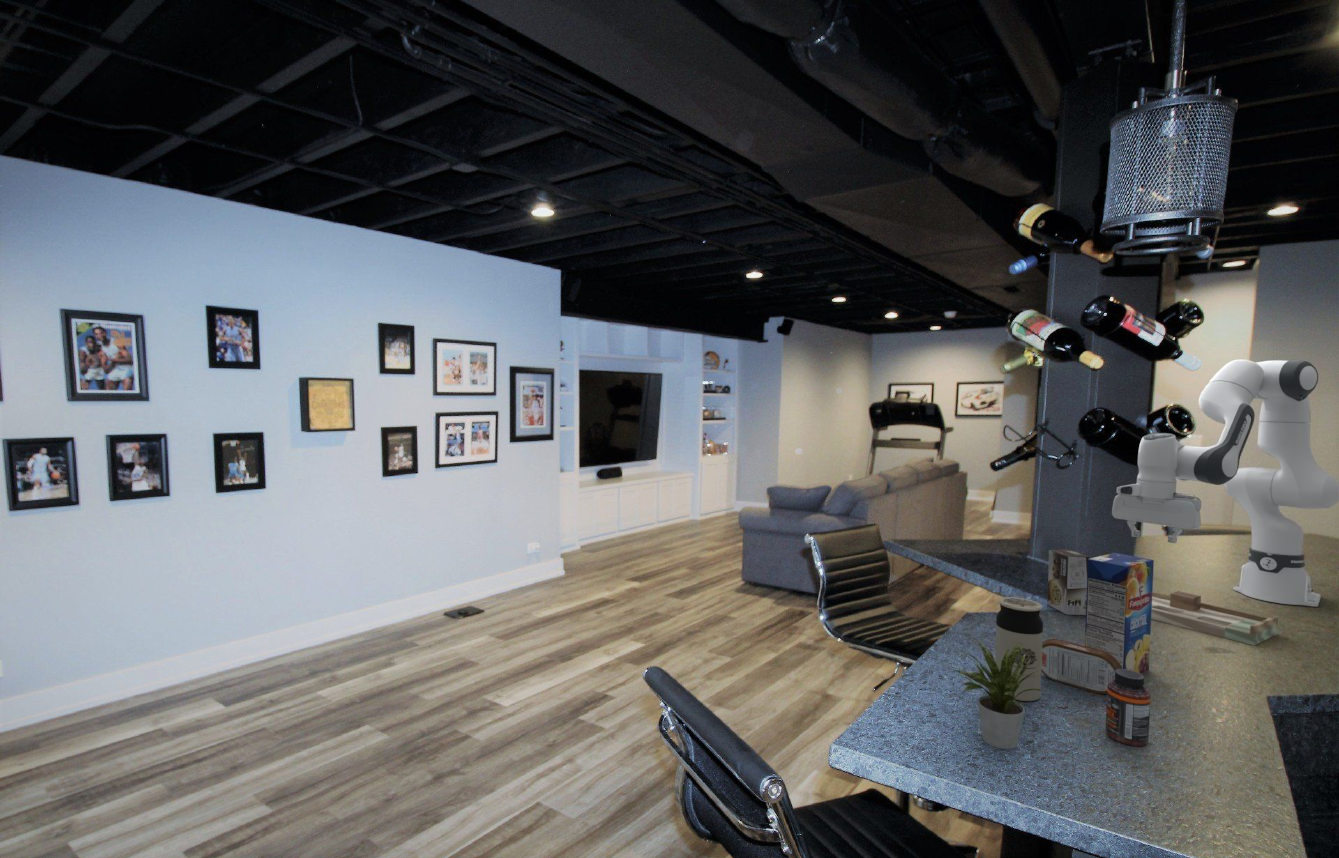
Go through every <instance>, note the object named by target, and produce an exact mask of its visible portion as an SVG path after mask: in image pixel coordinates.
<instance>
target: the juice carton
mask: <svg viewBox="0 0 1339 858" xmlns="http://www.w3.org/2000/svg"><path fill="white" fill-rule="evenodd" d="M1154 563H1155V560H1154V559H1150V558H1145V557H1139V556H1134V555H1130V554H1129V555H1128V554H1123V553H1117V552H1111V553H1108V554H1107V553H1106V554H1103V555H1099V556H1096V557H1095V556H1094V557H1091V558H1090V559H1088V573H1087V598H1086V615H1085V623H1084V624H1085V629H1084V646H1088V647H1091V648H1095V649H1100V650H1103V651H1105V652H1107V653H1109V654H1111V655H1112V656H1113V657H1114V658H1116V659H1117V660H1118V662H1119V663H1120V665H1121V667H1122V669H1128V670H1132V671H1135V672H1138V673H1140V674H1142V675H1143V674H1145V673H1146V672H1149V671H1150V655H1151V653H1150V652H1151V651H1150V650H1151V633H1152V631H1151V630H1152V629H1151V628H1152V619H1151V612H1152V592H1153V587H1154V586H1153V585H1154V584H1153V582H1154V567H1155V566H1154Z"/></svg>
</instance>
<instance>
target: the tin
mask: <svg viewBox="0 0 1339 858" xmlns="http://www.w3.org/2000/svg"><path fill="white" fill-rule="evenodd" d="M1117 669H1122V667H1121V665H1120V663H1119V662H1118V660H1117V659H1116V658H1114V657H1113V656H1112V655H1111V654H1109V653H1107V652H1105V651H1103V650H1100V649H1095V648H1091V647H1088V646H1085V644H1084V645H1083V644H1078V643H1075V642H1071V641H1067V640H1064V639H1059V638H1049V639H1046V640H1044V641H1042V666H1041V674H1042V675H1044V676H1045V677H1047V678H1048V679H1050V680H1052V681H1054V682H1057V683H1061V684H1064V685H1068V686H1071V687H1074V688H1078V689H1081V690H1084V691H1087V692H1088V691H1089V692H1092V693H1094V694H1099V695H1107V687H1108V683H1109V682H1110V681H1112V680H1114V679H1115V677H1114V676H1115V670H1117Z"/></svg>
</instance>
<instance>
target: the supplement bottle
mask: <svg viewBox="0 0 1339 858" xmlns="http://www.w3.org/2000/svg"><path fill="white" fill-rule="evenodd" d="M1114 677H1115V679H1114V680H1112V681H1110V682H1109V683H1108V687H1107V694H1106V710H1105V732H1106V734H1107V735H1108V736H1109V737H1110V738H1111V739H1113V740H1115V741H1117V742H1119V743H1122V744H1124V745H1128V746H1133V747H1143V746H1146V745H1147V744H1149V743H1148V742H1149V735H1150V717H1151V716H1150V715H1151V714H1150V713H1151V693H1150V691H1149V689H1148V688H1146V686H1144V685H1145V676H1144V675H1143V673H1142V674H1140V673H1138V672H1135V671H1132V670H1128V669H1117V670H1115V676H1114Z"/></svg>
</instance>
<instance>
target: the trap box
mask: <svg viewBox="0 0 1339 858" xmlns="http://www.w3.org/2000/svg"><path fill="white" fill-rule="evenodd" d="M1151 620H1155V621H1158V622H1163V623H1166V624H1169V625H1174V626H1178V627H1181V628H1186V629H1189V630H1193V631H1197V632H1201V633H1205V634H1209V635H1212V636H1216V637H1220V638H1224V639H1228V640H1232V641H1236V642H1240V643H1243V644H1247V645H1251V646H1255V645H1258V644H1259V643H1262V642H1264V641H1266V640H1268V639H1271V638H1272V637H1274V636H1277V635H1278V628H1279V623H1278V622H1279V616H1277V615H1276V616H1275V615H1273V616H1271V617H1266V616H1261V615H1258V614H1252V613H1249V612H1244V611H1240V610H1236V609H1231V608H1227V607H1222V606H1217V605H1213V604H1209V603H1205V602H1201V607H1200V609H1198V610H1195V611H1188V610H1184V609H1180V608H1175V607H1171V606H1170V595H1169V594H1166V593H1161V592H1156V591H1152V612H1151Z"/></svg>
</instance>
